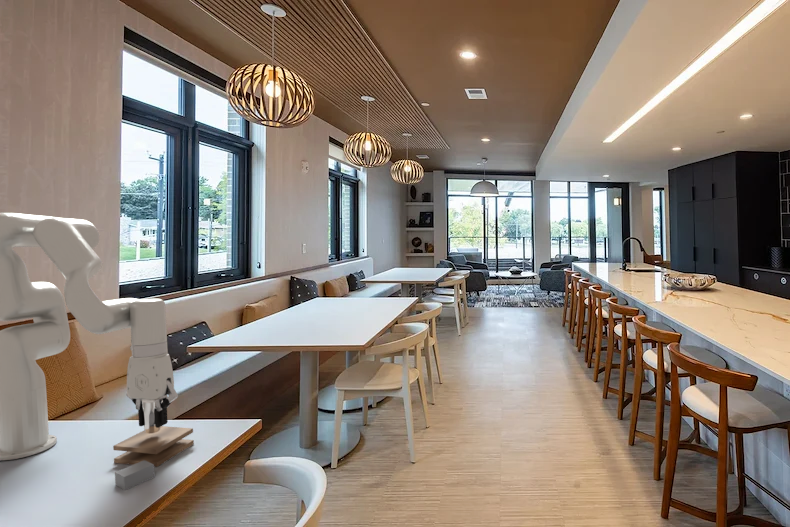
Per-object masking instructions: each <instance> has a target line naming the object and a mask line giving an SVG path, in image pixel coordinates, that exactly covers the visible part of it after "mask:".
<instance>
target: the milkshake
mask: <svg viewBox="0 0 790 527" xmlns="http://www.w3.org/2000/svg"><path fill="white" fill-rule="evenodd" d="M162 402H163V400H162V399H161V403H162ZM142 408H143V418H144V426H143V429H144V430H143V431H145V433H148V434H150V433H155V432H158V431H159V430H160V427H159V428H156V426H155V411H157V408H156V403H155V400H148V399H142Z"/></svg>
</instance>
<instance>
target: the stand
mask: <svg viewBox="0 0 790 527" xmlns="http://www.w3.org/2000/svg"><path fill="white" fill-rule="evenodd" d="M193 433H194V428H193V427H192V428H191V427H180V426H179V427H177V426H165V425H163V426H161V427H160V430H159V431H158V432H155V433H150V434H148V433H145V431H144V430H142V431H140V432H138V433H136V434H134V435H132V436H130V437H128V438H126V439H124V440H122V441H120V442H118V443H116V444H114V445H112V446H113V447H112V448H113V451H117V452H118V451H119V452H120V451H121V452H123V453H122V454H119V455H118V456H116V457H114V458H113V463H114V464H123V465H130V466H131V465H134V464H136V463H139V462H141V461H144V460H145V461H147V462H150V463H152V464H154V468H158V467H160V466H161V465H162V464H165V463H166V462H167V461H169V460H171V459H173V458H174V457H176V456H177V455H179V454H180V453H182V452H183V451H185V450H186V449H188V448H190V447H191V446H193V445H194V444H195V442H194V440H193V439H186V437H188V436H189V435H191V434H193Z"/></svg>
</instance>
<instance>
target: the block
mask: <svg viewBox="0 0 790 527" xmlns="http://www.w3.org/2000/svg"><path fill="white" fill-rule="evenodd" d="M114 477H115V478H114V479H115V486H117V487H118V488H120V489H122V490H124V491H126V490H128V489H130V488H134V487H136V486H139V485H140V484H143V483H145V482H147V481H149V480H151V479H153V478H155V467H154V464H152V463H150V462H147V461H145V460H144V461H141V462H139V463H136V464H134V465H131V464H130V465H129V466H126V467H125V468H121V469H119V470H117V471H115V472H114Z"/></svg>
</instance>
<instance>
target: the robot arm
mask: <svg viewBox="0 0 790 527" xmlns="http://www.w3.org/2000/svg"><path fill="white" fill-rule="evenodd" d="M100 236H101V235H100V232H99V230H98V228H97V227H96V226H95V225H94V224H93V223H92V222H90V221H88V220H87V219H81V218H69V217H58V216H51V215H40V214H30V213H29V214H27V213H18V212H0V322H13V321H21V320H22V321H23V320H28V319H32V320H33V323H26V324H25V323H24V324H21V325H20V324H19V325H14V326H10V327H6V328H4V329H1V330H0V461H11V460H18V459H21V458H25V457H30V456H33V455H36V454H39V453H42V452H45V451H46V450H48V449H50V448H52V447H53V446H55V445H56V443H57V442H58V441H57V440H58V439H57V436H56V435H53V434H49V433H50V432H49V416H48V413H49V412H48V400H47V399H48V397H47V396H48V395H47V383H46V376H45V373H44V371H43V369H42V368H41V367H40V366H39V364H38V363H37V360H40V359H44V358H47V357H48V358H49V357H50V356H54V355H58V354H60V353H62V352H64V351H65V350H66V349H67V348H68V347H69V344H70V342H71V330H70V323H69V319H68V313H67V309H68V310H69V312H70V313H71V315H72V316H73V317H74V318H75V320H76V321H77V322H78V323H79V324H80V326H82V328H84V329H85V330H86V331H88V332H89V333H92V334H95V335H102V334H108V333H112V332H117V331H122V330H126V329H130V338H131V339H130V341H131V342H130V343H131V344H130V347H129V349H130V351H131V356H130V357H129V359H128V364H127V370H126V371H127V372H126V396H127V398H129V399H130V400H131V401H132V403H133V404H134V405H135V410H137V411H138V412H137V413H138V416H137V417H138V426H139V427H144V418H143V408H142V399H148V400H155V403H156V408H157V411H155V426H156V428H159V427H161V426H165V425H166V424H167V423H168V408H169V407H170V405H171V403H173V402H174V401H175V400H177V398H179V395H178V393H177V391H176V389H175V378H174V377H175V376H174V370H173V365H172V360H171V357H170V354H169V352H168V336H167V334H168V333H167V331H168V330H167V312H166V303H165V300H163V299H161V298H143V299H141V298H134V297H125V298H124V297H122V298H115V299H108V300H101V298H99V297H98V295H97V294H96V293H95V291H94V290H93V289H92V287H91V285H90V281H89V280H90V279H92V278H93V277H95V275H97V274H98V273H99V272H100V271H101V269H102V267H103V260H102V259H101V257H99V255H98V254H97V252H96V251H95V250H93V249H95V248H96V247H98V245H99V243H100ZM14 248H40V249H42V251H43V253H44V254H46V255H47V257H48V258H49V259H50V261H51V262H52V264H53V265H54V266H55V267H56V268H57V269H58V270H57V271H59V272H60V274H62V276H63V277H64V279H65V283H64V286H63V287H64V288H63V293H62V291H61V290H60V288H59V287H58V286H57V285H55V284H53V283H51V282H49V281H31V279H30V277H29V276H30V275H29V273H28V267H27V265H26V262H25V261H24V259H23V258H22V256H20V254H18V253H17V252H16V251H15V250H14ZM66 307H67V309H66ZM161 399H162V400H163V402H162V403H161ZM167 425H168V424H167Z"/></svg>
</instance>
